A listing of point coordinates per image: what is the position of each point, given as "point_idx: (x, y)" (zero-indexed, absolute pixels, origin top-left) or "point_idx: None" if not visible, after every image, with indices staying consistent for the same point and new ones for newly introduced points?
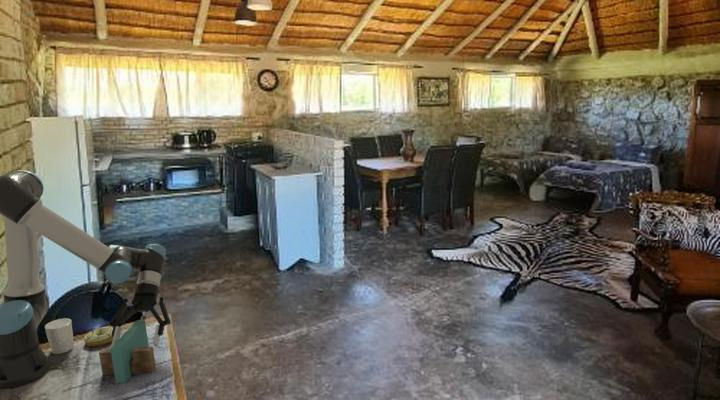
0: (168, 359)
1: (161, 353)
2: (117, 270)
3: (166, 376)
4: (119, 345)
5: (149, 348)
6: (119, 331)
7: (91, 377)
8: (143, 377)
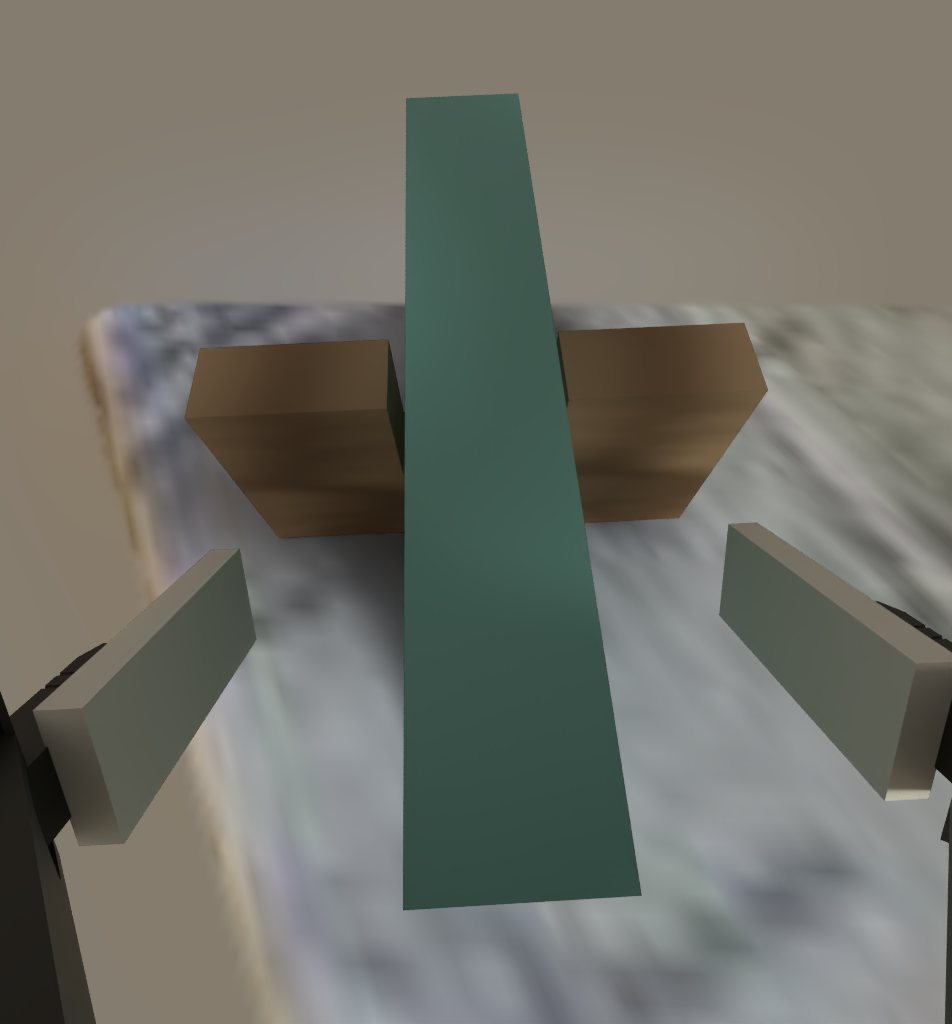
0: None
1: (304, 800)
2: None
3: (171, 447)
4: (445, 131)
5: (213, 384)
6: (844, 700)
7: None
8: None
